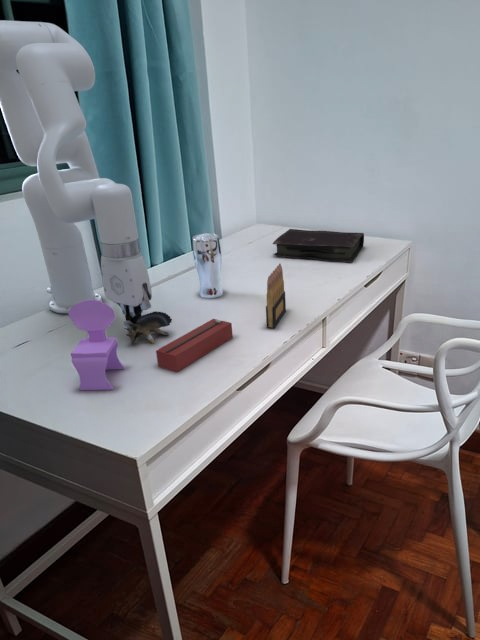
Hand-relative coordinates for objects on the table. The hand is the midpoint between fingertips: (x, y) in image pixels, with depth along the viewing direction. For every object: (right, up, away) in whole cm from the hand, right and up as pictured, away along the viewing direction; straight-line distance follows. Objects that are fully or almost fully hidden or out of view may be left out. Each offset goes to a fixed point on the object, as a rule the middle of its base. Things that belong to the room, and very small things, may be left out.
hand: (135, 330), depth 120 cm
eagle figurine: (+4, -3, -2) cm, 5 cm away
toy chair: (-1, -11, -17) cm, 20 cm away
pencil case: (+15, -5, -8) cm, 18 cm away
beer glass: (+14, +11, +22) cm, 28 cm away
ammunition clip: (+31, +3, +6) cm, 32 cm away
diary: (+44, +30, +52) cm, 74 cm away
